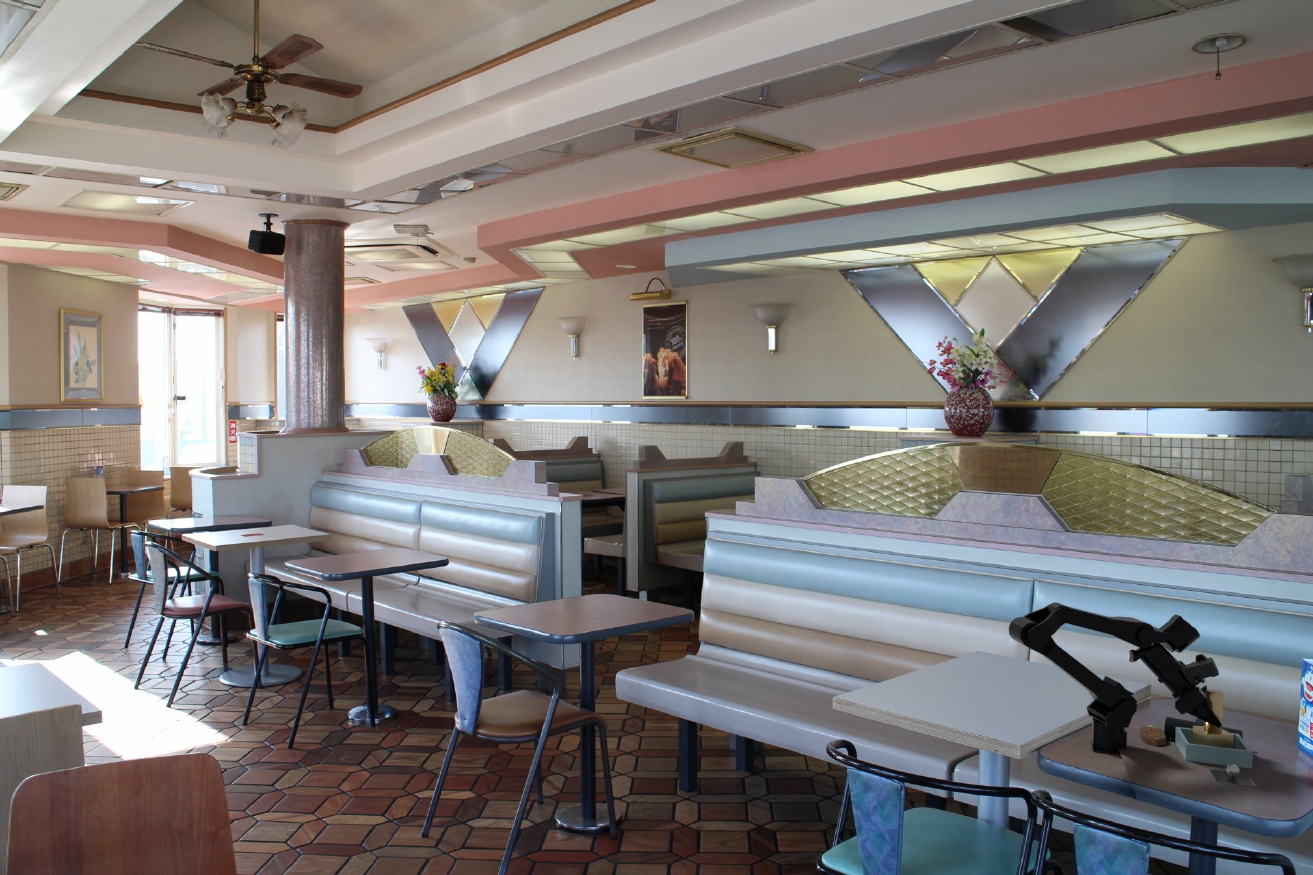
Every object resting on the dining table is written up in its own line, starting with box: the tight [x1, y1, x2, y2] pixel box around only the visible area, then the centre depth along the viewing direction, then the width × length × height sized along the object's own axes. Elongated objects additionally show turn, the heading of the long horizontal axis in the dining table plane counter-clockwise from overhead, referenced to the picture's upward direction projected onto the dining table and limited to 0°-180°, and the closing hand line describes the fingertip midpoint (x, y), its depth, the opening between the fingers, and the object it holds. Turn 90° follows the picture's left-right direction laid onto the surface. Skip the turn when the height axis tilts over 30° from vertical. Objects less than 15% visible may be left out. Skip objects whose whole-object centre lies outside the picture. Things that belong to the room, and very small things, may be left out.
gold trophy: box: [1192, 689, 1233, 749], centre depth 207 cm, size 6×6×13 cm
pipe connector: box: [1163, 716, 1244, 740], centre depth 220 cm, size 12×5×15 cm
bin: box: [1174, 727, 1254, 770], centre depth 207 cm, size 12×12×4 cm
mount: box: [1209, 764, 1257, 787], centre depth 194 cm, size 7×7×4 cm
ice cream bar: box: [1139, 725, 1168, 747], centre depth 219 cm, size 5×4×15 cm
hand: (1220, 724), depth 206 cm, fingers closed on gold trophy, 3 cm apart
